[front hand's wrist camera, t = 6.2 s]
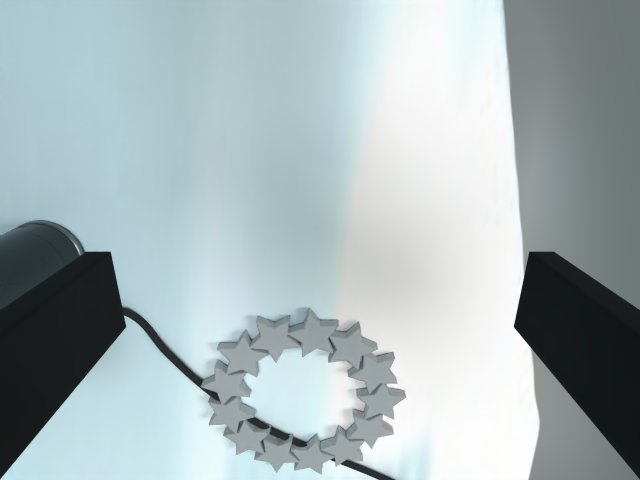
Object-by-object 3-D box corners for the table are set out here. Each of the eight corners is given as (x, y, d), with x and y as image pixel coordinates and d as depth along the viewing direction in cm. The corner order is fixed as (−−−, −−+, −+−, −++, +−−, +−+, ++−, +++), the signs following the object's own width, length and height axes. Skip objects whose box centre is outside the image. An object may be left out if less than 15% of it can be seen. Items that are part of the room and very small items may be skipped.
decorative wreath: (185, 318, 54) (225, 473, 65) (181, 324, 52) (223, 482, 63) (401, 299, 53) (406, 459, 63) (403, 305, 51) (408, 468, 62)
